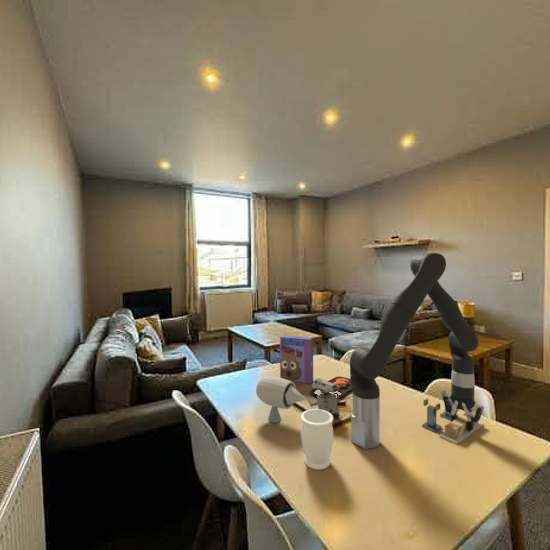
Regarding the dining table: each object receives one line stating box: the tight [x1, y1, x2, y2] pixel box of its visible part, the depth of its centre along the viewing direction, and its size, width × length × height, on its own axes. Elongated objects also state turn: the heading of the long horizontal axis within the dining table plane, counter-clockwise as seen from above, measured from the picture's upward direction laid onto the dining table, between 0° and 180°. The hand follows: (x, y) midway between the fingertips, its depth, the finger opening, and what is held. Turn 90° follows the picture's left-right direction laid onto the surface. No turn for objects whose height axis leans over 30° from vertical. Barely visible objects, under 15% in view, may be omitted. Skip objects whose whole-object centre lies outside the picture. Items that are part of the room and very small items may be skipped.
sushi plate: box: [310, 376, 353, 397], centre depth 152 cm, size 29×30×4 cm
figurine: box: [308, 377, 341, 418], centre depth 129 cm, size 9×12×15 cm
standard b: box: [439, 390, 460, 421], centre depth 128 cm, size 5×5×10 cm
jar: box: [300, 408, 334, 471], centre depth 99 cm, size 11×10×15 cm
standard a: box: [421, 398, 442, 433], centre depth 119 cm, size 5×5×10 cm
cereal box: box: [279, 334, 314, 385], centre depth 169 cm, size 17×5×24 cm, turn 67°
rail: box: [444, 411, 479, 439], centre depth 117 cm, size 19×4×4 cm, turn 125°
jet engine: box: [255, 376, 306, 423], centre depth 125 cm, size 15×20×18 cm
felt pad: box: [439, 421, 484, 445], centre depth 117 cm, size 22×6×1 cm, turn 125°
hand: (462, 427), depth 117 cm, fingers open, 4 cm apart
